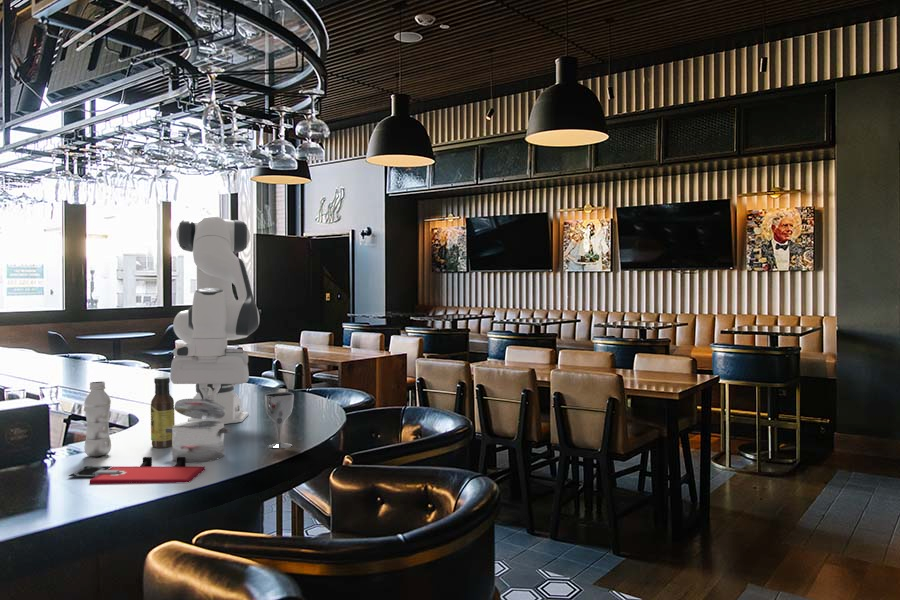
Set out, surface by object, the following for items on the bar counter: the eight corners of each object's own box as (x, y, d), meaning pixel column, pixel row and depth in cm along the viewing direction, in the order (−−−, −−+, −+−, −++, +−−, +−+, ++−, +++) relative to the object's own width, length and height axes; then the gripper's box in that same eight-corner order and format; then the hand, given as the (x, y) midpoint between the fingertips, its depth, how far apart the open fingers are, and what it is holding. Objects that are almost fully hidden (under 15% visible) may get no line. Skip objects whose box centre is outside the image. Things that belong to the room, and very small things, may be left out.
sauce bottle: (154, 444, 192) (154, 376, 191) (177, 443, 193) (176, 375, 192) (148, 449, 185) (147, 378, 185) (171, 448, 186) (171, 378, 186)
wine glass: (286, 450, 183) (286, 396, 183) (260, 448, 185) (259, 395, 185) (298, 443, 191) (298, 392, 191) (273, 442, 193) (272, 391, 193)
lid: (185, 419, 183) (188, 409, 184) (231, 419, 182) (233, 409, 184) (166, 402, 172) (168, 391, 173) (214, 402, 171) (216, 391, 172)
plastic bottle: (106, 451, 182) (106, 380, 182) (114, 455, 177) (114, 382, 177) (81, 455, 178) (80, 382, 178) (88, 460, 173) (88, 384, 173)
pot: (181, 449, 184) (181, 419, 184) (239, 450, 183) (239, 420, 183) (156, 462, 170) (155, 429, 170) (219, 463, 169) (218, 430, 169)
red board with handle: (89, 467, 166) (56, 486, 151) (89, 456, 165) (56, 474, 150) (209, 467, 167) (188, 486, 152) (209, 456, 167) (188, 474, 152)
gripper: (252, 347, 177) (252, 399, 177) (178, 348, 178) (178, 398, 178) (243, 349, 170) (244, 402, 170) (167, 349, 171) (167, 402, 171)
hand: (210, 400), depth 174 cm, fingers closed, pressing on lid
